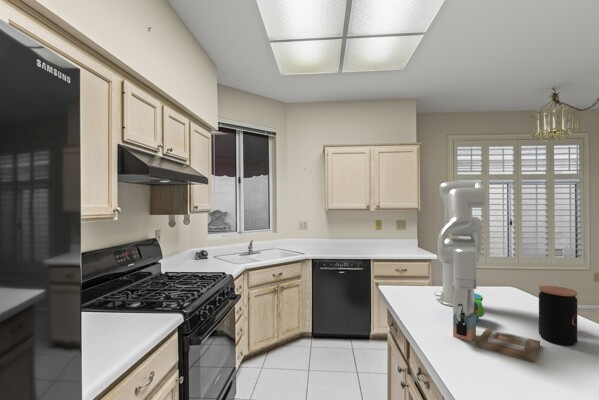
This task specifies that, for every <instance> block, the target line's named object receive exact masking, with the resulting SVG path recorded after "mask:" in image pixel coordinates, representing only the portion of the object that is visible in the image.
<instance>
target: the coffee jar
mask: <svg viewBox="0 0 599 400" xmlns="http://www.w3.org/2000/svg"><path fill="white" fill-rule="evenodd" d="M538 291H539V293H538V335H539V337H540V338H541V339H542V340H544V341H546V342H549V343H552V344H555V345H559V346H565V347H571V346H572V347H573V346H575V345H576V344H577V343H578V297H577V296H578V291H577V290H574V289H572V288H567V287H562V286H559V285H558V286H555V285H539V287H538Z"/></svg>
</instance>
